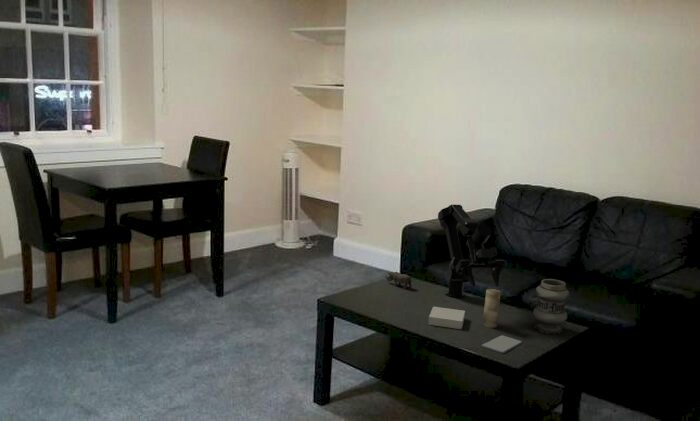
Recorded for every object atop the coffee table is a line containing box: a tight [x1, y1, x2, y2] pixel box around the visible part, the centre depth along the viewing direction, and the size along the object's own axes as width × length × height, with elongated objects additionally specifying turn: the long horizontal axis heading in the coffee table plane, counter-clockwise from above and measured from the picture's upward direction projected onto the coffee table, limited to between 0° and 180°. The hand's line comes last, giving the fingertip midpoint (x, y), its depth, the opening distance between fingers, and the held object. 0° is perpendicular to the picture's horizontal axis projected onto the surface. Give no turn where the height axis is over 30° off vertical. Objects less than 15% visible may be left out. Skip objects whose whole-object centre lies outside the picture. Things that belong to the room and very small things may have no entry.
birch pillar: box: [482, 288, 502, 329], centre depth 246 cm, size 5×5×13 cm
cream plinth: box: [427, 306, 466, 330], centre depth 248 cm, size 12×12×3 cm
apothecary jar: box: [532, 278, 570, 334], centre depth 245 cm, size 12×12×18 cm
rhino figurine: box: [384, 271, 413, 290], centre depth 288 cm, size 4×14×6 cm, turn 48°
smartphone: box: [481, 334, 523, 355], centre depth 229 cm, size 8×1×15 cm
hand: (485, 286), depth 251 cm, fingers open, 9 cm apart
